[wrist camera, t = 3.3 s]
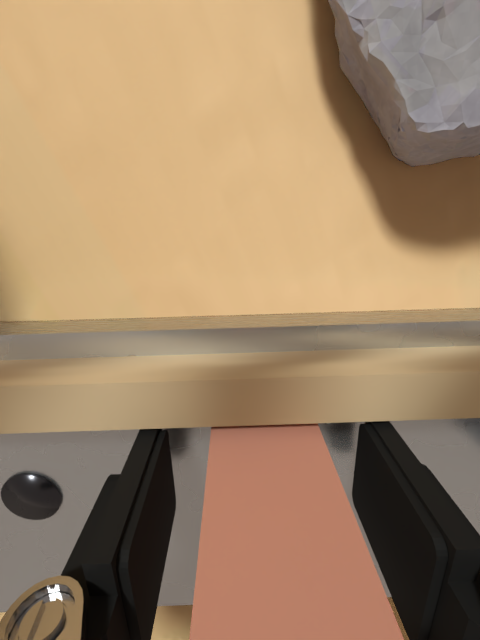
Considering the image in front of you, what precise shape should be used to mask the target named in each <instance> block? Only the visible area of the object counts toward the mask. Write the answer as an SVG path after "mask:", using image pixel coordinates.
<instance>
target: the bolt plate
mask: <svg viewBox="0 0 480 640" xmlns="http://www.w3.org/2000/svg"><path fill="white" fill-rule="evenodd" d="M449 346H480V308H473V309H439V310H405V311H371V312H337V313H304V314H270V315H236V316H202V317H168V318H135V319H101V320H67V321H33V322H0V360H27V359H60V358H92V357H125V356H157V355H190V354H222V353H255V352H287V351H320V350H352V349H384V348H417V347H449ZM364 423H365V422H343V423H318V426H319V428H320V431H321V433H322V436H323V438H324V441H325V443H326V446H327V448H328V451H329V453H330V456H331V458H332V461H333V463H334V466H335V468H336V471H337V473H338V476H339V478H340V481H341V483H342V486H343V488H344V491H345V493H346V496H347V498H348V501H349V503H350V506H351V508H352V511H353V513H354V516H355V518H356V521H357V523H358V526H359V528H360V531H361V533H362V536H363V538H364V541H365V543H366V546H367V548H368V551H369V553H370V556H371V558H372V561H373V563H374V566H375V568H376V571H377V573H378V576H379V578H380V581H381V583H382V586H383V588H384V591H385V593H386V596H387V597H392V596H391V594H390V592H389V589H388V587H387V584H386V582H385V579H384V577H383V575H382V572H381V570H380V567H379V565H378V562H377V560H376V558H375V555H374V553H373V550H372V548H371V545H370V543H369V541H368V538H367V536H366V533H365V531H364V528H363V526H362V524H361V521H360V519H359V516H358V514H357V511H356V509H355V507H354V504H353V499H352V487H353V478H354V469H355V459H356V450H357V441H358V432H359V426H360V424H364ZM390 423H391V424H392V425H393V427H394V428H395V429H396V431H397V432H398V433H399V435H400V436H401V437H402V439H403V440H404V441H405V443H406V444H407V445H408V447H409V448H410V449H411V451H412V452H413V453H414V455H415V456H416V457H417V459H418V460H419V461H420V463H421V464H424V465H426V466H427V467H428V468H429V469H430V470H431V472H432V473H433V474H434V476H435V477H436V478H437V480H438V481H439V482H440V484H441V485H442V486H443V488H444V489H445V490H446V491H447V493H448V494H449V495H450V497H451V498H452V499H453V501H454V502H455V503H456V505H457V506H458V507H459V508H460V510H461V511H462V512H463V514H464V515H465V516H466V518H467V519H468V520H469V522H470V523H471V524H472V525H473V527H474V528H475V529H476V531H477V532H478V533H479V535H480V418H464V419H433V420H403V421H390ZM139 430H140V429H132V430H102V431H72V432H42V433H12V434H0V612H7V610H8V609H9V607H10V606H11V605H12V604H13V603H14V602H15V601H16V600H17V599H18V598H19V597H20V595H21V594H22V593H24V592H25V591H27V590H28V589H29V588H31V587H32V586H33V585H35V584H37V583H39V582H41V581H43V580H45V579H47V578H51V577H55V576H61V573H62V571H63V569H64V567H65V565H66V563H67V561H68V559H69V557H70V555H71V552H72V550H73V548H74V546H75V544H76V542H77V540H78V538H79V536H80V534H81V531H82V529H83V527H84V525H85V523H86V521H87V519H88V517H89V515H90V513H91V510H92V508H93V506H94V504H95V502H96V500H97V498H98V496H99V494H100V492H101V489H102V487H103V485H104V483H105V481H106V480H107V478H108V476H110V475H111V474H121V472H122V469H123V467H124V465H125V462H126V460H127V458H128V455H129V453H130V451H131V448H132V446H133V444H134V441H135V439H136V437H137V435H138V432H139ZM162 430H168V434H169V442H170V451H171V459H172V468H173V477H174V486H175V494H176V510H175V516H174V521H173V526H172V532H171V537H170V542H169V547H168V552H167V557H166V562H165V568H164V573H163V578H162V583H161V588H160V593H159V599H158V604H157V606H174V605H193V599H194V590H195V580H196V570H197V561H198V551H199V541H200V531H201V522H202V512H203V502H204V493H205V483H206V473H207V464H208V454H209V444H210V435H211V427H193V428H162Z"/></svg>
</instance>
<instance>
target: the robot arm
mask: <svg viewBox="0 0 480 640" xmlns="http://www.w3.org/2000/svg"><path fill="white" fill-rule="evenodd" d="M352 499H353V504H354V507H355V509H356V511H357V514H358V516H359V519H360V521H361V524H362V526H363V528H364V531H365V533H366V536H367V538H368V541H369V543H370V545H371V548H372V550H373V553H374V555H375V558H376V560H377V562H378V565H379V567H380V570H381V572H382V575H383V577H384V579H385V582H386V584H387V587H388V589H389V592H390V594H391V596H392V599H393V601H394V604H395V606H396V609H397V611H398V613H399V616H400V618H401V621H402V623H403V626H404V628H405V630H406V633H407V635H408V637H409V639H410V640H480V535H479V533H478V532H477V531H476V529H475V528H474V527H473V525H472V524H471V523H470V522H469V520H468V519H467V518H466V516H465V515H464V514H463V512H462V511H461V510H460V508H459V507H458V506H457V505H456V503H455V502H454V501H453V499H452V498H451V497H450V495H449V494H448V493H447V491H446V490H445V489H444V488H443V486H442V485H441V484H440V482H439V481H438V480H437V478H436V477H435V476H434V474H433V473H432V472H431V470H430V469H429V468H428V467H427V466H426V465H424V464H421V463H420V461H419V460H418V459H417V457H416V456H415V455H414V453H413V452H412V451H411V449H410V448H409V447H408V445H407V444H406V443H405V441H404V440H403V439H402V437H401V436H400V435H399V433H398V432H397V431H396V429H395V428H394V427H393V425H392V424H391V423H390V421H373V422H365V423H364V424H360V426H359V432H358V441H357V450H356V459H355V469H354V478H353V487H352ZM175 510H176V494H175V486H174V477H173V468H172V459H171V451H170V442H169V434H168V430H162V429H140V430H139V432H138V435H137V437H136V439H135V441H134V444H133V446H132V448H131V451H130V453H129V455H128V458H127V460H126V462H125V465H124V467H123V469H122V472H121V474H111V475H110V476H108V478H107V480H106V481H105V483H104V485H103V487H102V489H101V492H100V494H99V496H98V498H97V500H96V502H95V504H94V506H93V508H92V510H91V513H90V515H89V517H88V519H87V521H86V523H85V525H84V527H83V529H82V531H81V534H80V536H79V538H78V540H77V542H76V544H75V546H74V548H73V550H72V552H71V555H70V557H69V559H68V561H67V563H66V565H65V567H64V569H63V571H62V573H61V576H55V577H51V578H47V579H45V580H43V581H41V582H39V583H37V584H35V585H33V586H32V587H31V588H29V589H28V590H27V591H25V592H24V593H22V594H21V595H20V597H19V598H18V599H17V600H16V601H15V602H14V603H13V604H12V605H11V606H10V607H9V609H8V610H7V612H6V613H5V615H4V616H3V618H2V619H1V621H0V640H151V635H152V629H153V624H154V619H155V614H156V609H157V604H158V599H159V593H160V588H161V583H162V578H163V573H164V568H165V562H166V557H167V552H168V547H169V542H170V537H171V532H172V526H173V521H174V516H175Z"/></svg>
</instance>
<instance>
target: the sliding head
mask: <svg viewBox="0 0 480 640" xmlns="http://www.w3.org/2000/svg"><path fill="white" fill-rule="evenodd" d="M189 640H404V638H403V636H402V633H401V631H400V628H399V626H398V623H397V621H396V618H395V616H394V613H393V611H392V608H391V606H390V603H389V601H388V598H387V596H386V593H385V591H384V588H383V586H382V583H381V581H380V578H379V576H378V573H377V571H376V568H375V566H374V563H373V561H372V558H371V556H370V553H369V551H368V548H367V546H366V543H365V541H364V538H363V536H362V533H361V531H360V528H359V526H358V523H357V521H356V518H355V516H354V513H353V511H352V508H351V506H350V503H349V501H348V498H347V496H346V493H345V491H344V488H343V486H342V483H341V481H340V478H339V476H338V473H337V471H336V468H335V466H334V463H333V461H332V458H331V456H330V453H329V451H328V448H327V446H326V443H325V441H324V438H323V436H322V433H321V431H320V428H319V426H318V423H313V424H283V425H253V426H223V427H211V435H210V444H209V454H208V464H207V473H206V483H205V493H204V502H203V512H202V522H201V531H200V541H199V551H198V561H197V570H196V580H195V590H194V599H193V609H192V619H191V628H190V638H189Z"/></svg>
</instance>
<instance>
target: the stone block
mask: <svg viewBox="0 0 480 640" xmlns="http://www.w3.org/2000/svg"><path fill="white" fill-rule="evenodd" d="M328 1H329V4H330V7H331V9H332V12H333V15H334V17H335V37H336V40H337V44H338V47H339V56H340V68H341V70H342V71H343V73H344V74H345V76H346V77H347V78H348V80H349V81H350V83H351V84H352V86H353V88H354V89H355V91H356V92H357V93H358V95H359V96H360V98H361V99H362V101H363V102H364V105H365V107H366V108H367V110H368V111H369V113H370V116H371V117H372V119H373V120H374V122H375V123H376V125H377V126H378V127H379V129H380V132H381V134H382V136H383V137H384V138H385V139H386V141H387V143H388V145H389V147H390V150H391V152H392V155H394V156H395V157H396V158H397V159H398V160H399V161H404V162H405V163H406V164H408V165H410V166H411V167H414V166H419V165H430V164H434V163H438V162H442V161H445V160H449V159H452V158H459V157H475V156H477V155H480V0H328Z"/></svg>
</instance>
